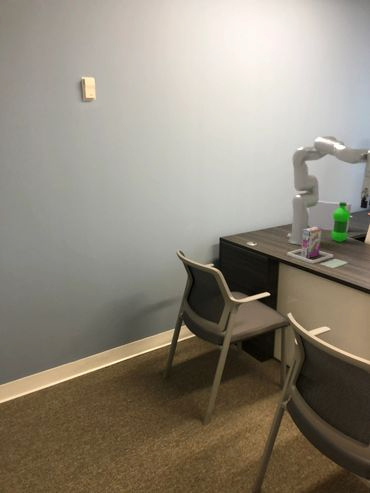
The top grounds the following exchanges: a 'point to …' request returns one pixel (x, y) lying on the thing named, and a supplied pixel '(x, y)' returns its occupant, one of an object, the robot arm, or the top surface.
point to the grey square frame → (310, 259)
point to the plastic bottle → (340, 223)
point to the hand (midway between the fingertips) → (367, 206)
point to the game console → (325, 215)
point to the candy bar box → (311, 242)
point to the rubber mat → (334, 263)
